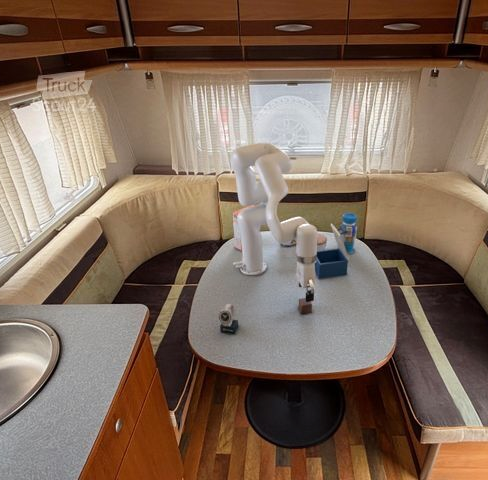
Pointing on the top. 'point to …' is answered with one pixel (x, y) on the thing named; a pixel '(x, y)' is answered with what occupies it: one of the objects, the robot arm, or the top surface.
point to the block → (305, 306)
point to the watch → (228, 320)
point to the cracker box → (238, 229)
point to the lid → (340, 239)
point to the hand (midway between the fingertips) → (306, 293)
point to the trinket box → (321, 242)
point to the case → (330, 263)
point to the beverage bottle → (349, 232)
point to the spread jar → (290, 243)
